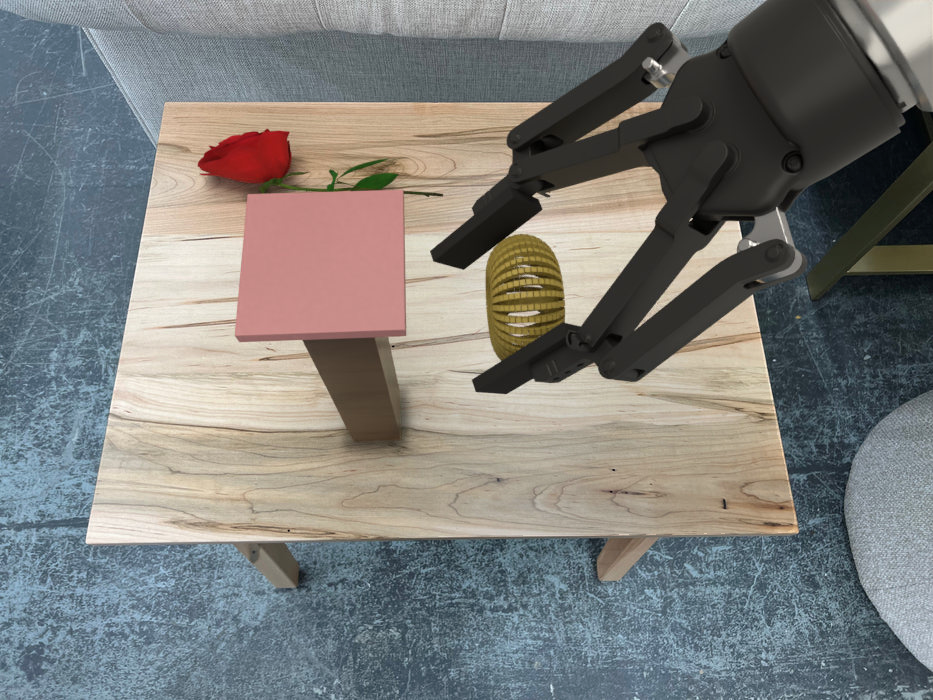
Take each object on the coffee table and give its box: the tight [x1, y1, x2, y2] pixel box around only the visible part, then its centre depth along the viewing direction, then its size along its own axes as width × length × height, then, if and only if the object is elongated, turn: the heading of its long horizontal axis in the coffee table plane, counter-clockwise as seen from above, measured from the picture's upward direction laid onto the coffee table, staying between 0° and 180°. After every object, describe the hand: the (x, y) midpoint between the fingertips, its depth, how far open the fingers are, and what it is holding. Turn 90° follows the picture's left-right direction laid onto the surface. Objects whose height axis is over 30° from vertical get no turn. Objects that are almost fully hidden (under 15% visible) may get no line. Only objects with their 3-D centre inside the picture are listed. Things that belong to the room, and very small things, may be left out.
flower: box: [197, 128, 444, 198], centre depth 80 cm, size 9×10×30 cm
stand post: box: [301, 337, 402, 443], centre depth 58 cm, size 5×5×32 cm
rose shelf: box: [234, 189, 407, 343], centre depth 43 cm, size 10×10×1 cm
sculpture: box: [484, 233, 566, 362], centre depth 40 cm, size 8×4×8 cm, turn 5°
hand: (467, 321), depth 40 cm, fingers closed on sculpture, 8 cm apart
